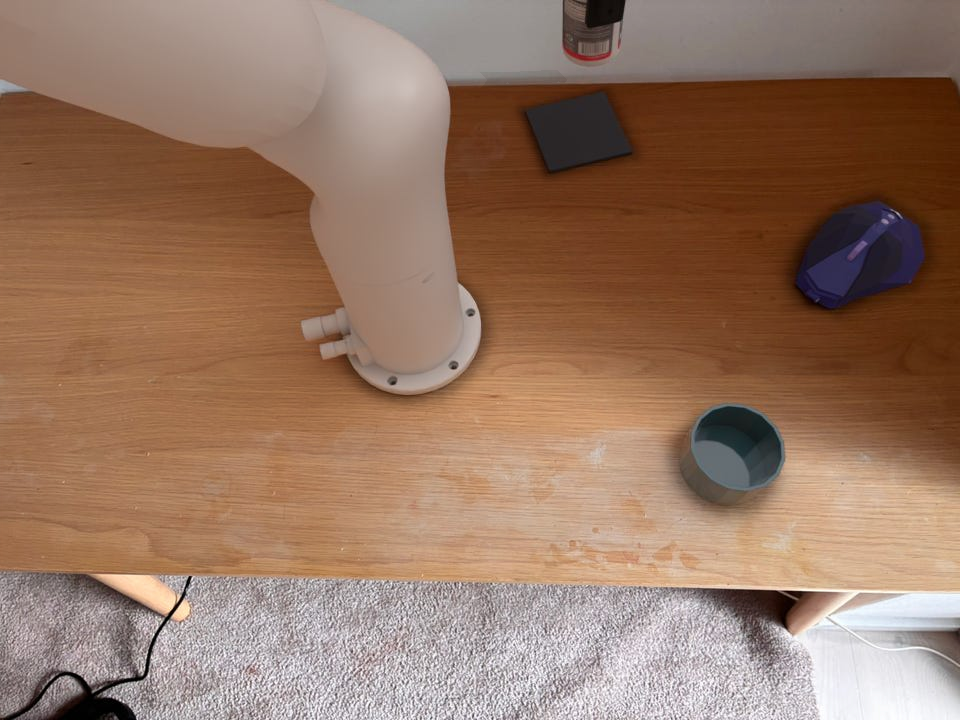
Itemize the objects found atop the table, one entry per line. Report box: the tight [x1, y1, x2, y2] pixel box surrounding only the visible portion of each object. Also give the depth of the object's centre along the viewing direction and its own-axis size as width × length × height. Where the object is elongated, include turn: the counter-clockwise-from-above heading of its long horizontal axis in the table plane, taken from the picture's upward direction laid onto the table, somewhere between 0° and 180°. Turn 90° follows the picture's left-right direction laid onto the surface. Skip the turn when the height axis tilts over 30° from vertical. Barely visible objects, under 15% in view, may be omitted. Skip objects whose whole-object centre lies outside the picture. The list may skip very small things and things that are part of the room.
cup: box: [678, 402, 786, 507], centre depth 54 cm, size 7×7×4 cm
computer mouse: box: [795, 200, 926, 310], centre depth 63 cm, size 9×15×4 cm, turn 132°
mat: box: [524, 91, 634, 174], centre depth 73 cm, size 9×9×1 cm
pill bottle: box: [561, 0, 624, 68], centre depth 59 cm, size 5×5×10 cm
